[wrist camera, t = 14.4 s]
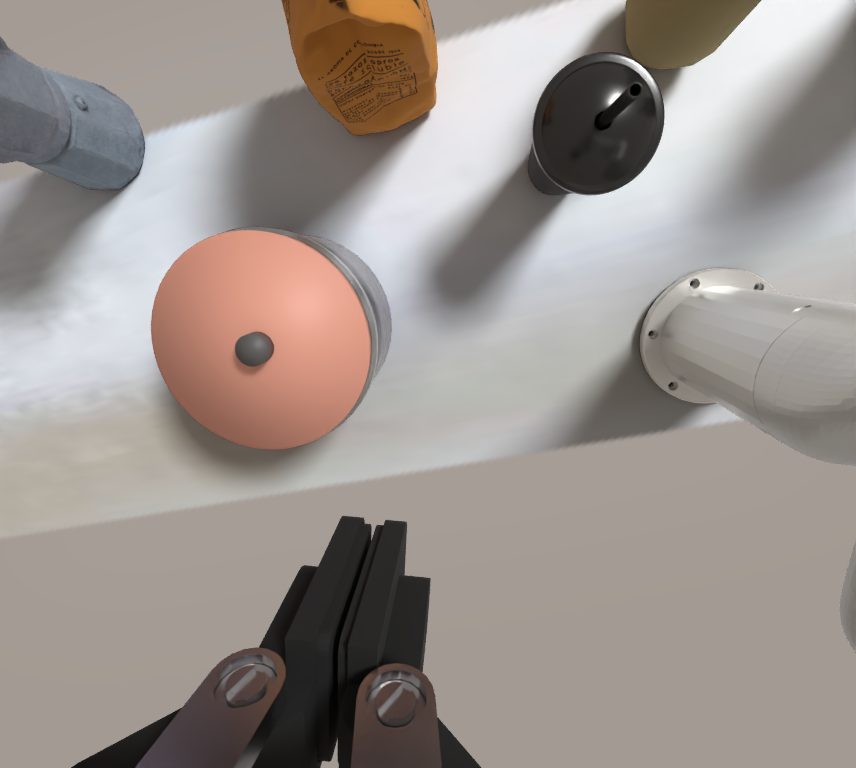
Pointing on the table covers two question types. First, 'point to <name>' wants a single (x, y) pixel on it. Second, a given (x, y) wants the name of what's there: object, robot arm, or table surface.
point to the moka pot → (66, 125)
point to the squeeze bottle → (680, 29)
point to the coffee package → (366, 59)
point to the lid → (261, 339)
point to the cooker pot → (365, 289)
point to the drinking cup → (595, 126)
